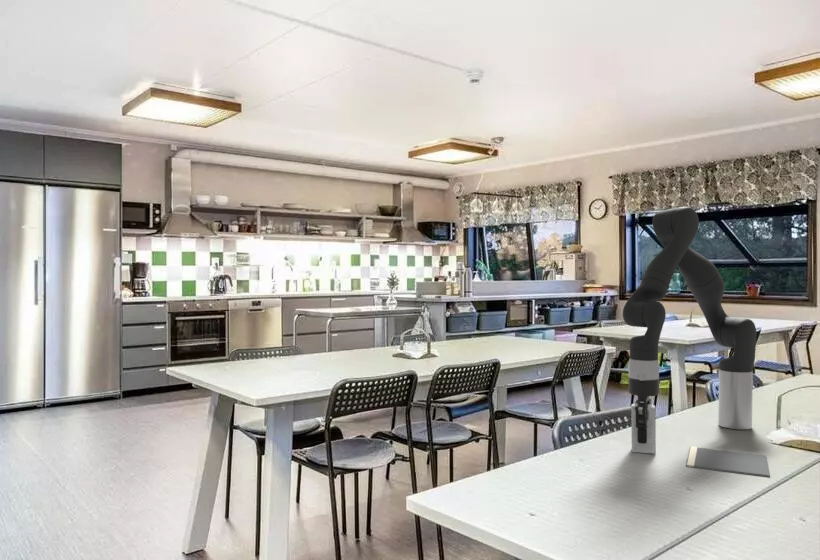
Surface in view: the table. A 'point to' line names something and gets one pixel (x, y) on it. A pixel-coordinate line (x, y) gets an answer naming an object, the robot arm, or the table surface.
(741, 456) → the mat
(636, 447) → the skincare box
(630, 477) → the table surface
